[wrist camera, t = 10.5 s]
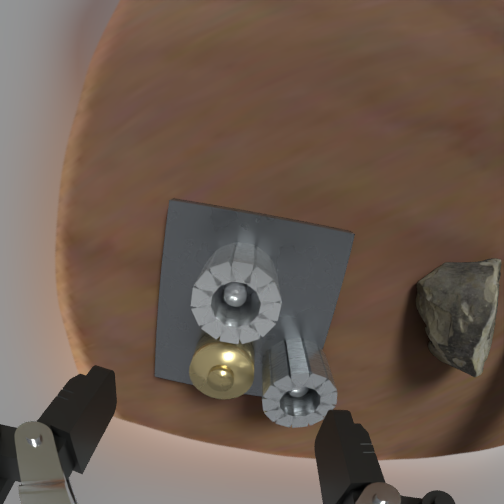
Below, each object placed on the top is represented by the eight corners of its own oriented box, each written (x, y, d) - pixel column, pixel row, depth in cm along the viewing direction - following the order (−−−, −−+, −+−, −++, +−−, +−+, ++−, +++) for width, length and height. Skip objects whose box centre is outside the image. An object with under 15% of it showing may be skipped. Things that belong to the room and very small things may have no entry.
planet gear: (282, 249, 24) (289, 270, 19) (268, 316, 25) (270, 349, 21) (209, 236, 24) (197, 254, 19) (199, 304, 25) (187, 334, 20)
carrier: (350, 231, 25) (371, 246, 20) (302, 393, 29) (309, 428, 24) (173, 198, 24) (153, 206, 19) (158, 369, 28) (143, 401, 24)
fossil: (506, 316, 26) (522, 387, 18) (433, 337, 31) (431, 409, 24) (491, 229, 23) (520, 292, 16) (407, 259, 29) (404, 328, 21)
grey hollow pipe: (326, 335, 26) (338, 369, 21) (324, 386, 27) (334, 422, 22) (259, 340, 26) (260, 376, 21) (264, 391, 27) (264, 429, 22)
